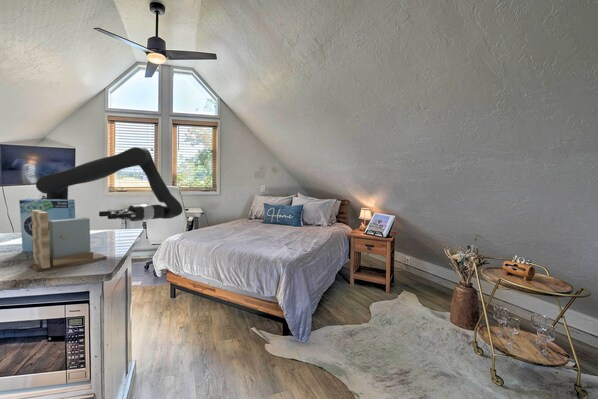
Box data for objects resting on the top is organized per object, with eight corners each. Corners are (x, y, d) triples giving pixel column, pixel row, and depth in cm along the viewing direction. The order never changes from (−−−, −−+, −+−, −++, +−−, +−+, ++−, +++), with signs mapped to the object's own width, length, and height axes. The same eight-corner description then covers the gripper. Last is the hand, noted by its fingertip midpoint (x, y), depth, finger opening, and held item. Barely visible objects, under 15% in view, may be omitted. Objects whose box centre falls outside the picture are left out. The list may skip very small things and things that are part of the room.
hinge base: (29, 265, 113) (26, 210, 111) (95, 254, 131) (94, 206, 129) (38, 272, 106) (35, 213, 105) (106, 258, 124) (105, 208, 122)
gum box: (77, 249, 137) (75, 199, 135) (70, 252, 132) (68, 200, 130) (30, 249, 135) (27, 198, 133) (21, 252, 130) (18, 199, 128)
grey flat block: (50, 261, 115) (48, 220, 114) (86, 255, 125) (85, 217, 123) (55, 264, 112) (53, 222, 111) (91, 257, 122) (90, 218, 120)
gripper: (133, 203, 147) (96, 205, 134) (149, 206, 139) (111, 208, 126) (133, 218, 148) (96, 221, 135) (148, 222, 140) (110, 226, 127)
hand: (103, 215), depth 130 cm, fingers open, 8 cm apart
